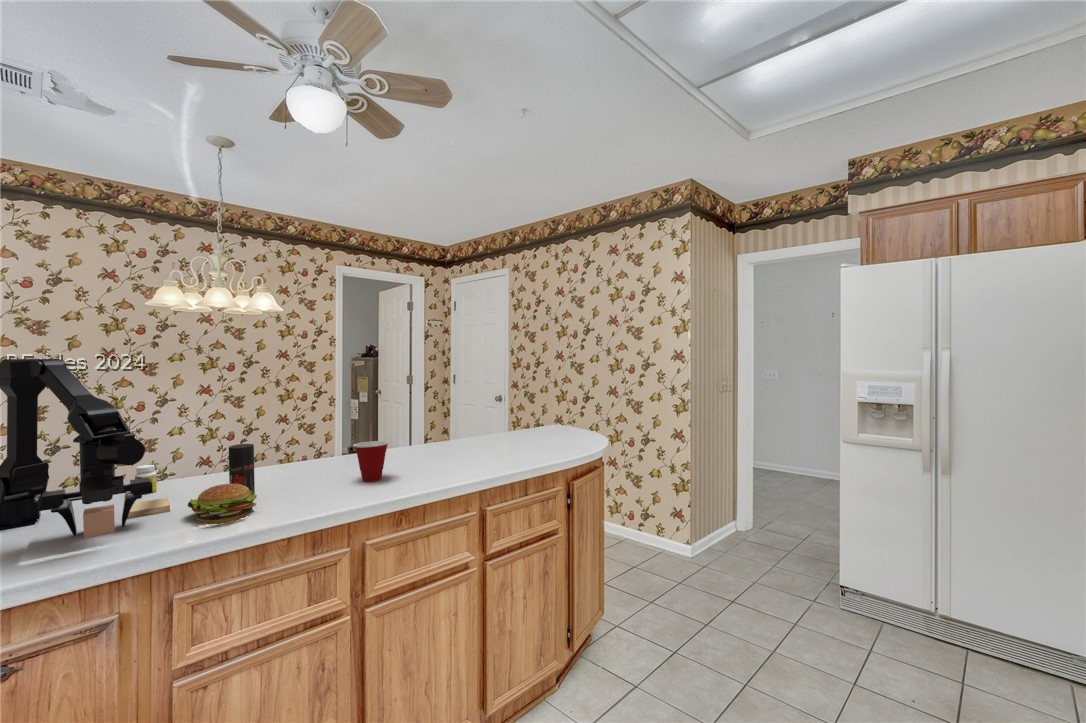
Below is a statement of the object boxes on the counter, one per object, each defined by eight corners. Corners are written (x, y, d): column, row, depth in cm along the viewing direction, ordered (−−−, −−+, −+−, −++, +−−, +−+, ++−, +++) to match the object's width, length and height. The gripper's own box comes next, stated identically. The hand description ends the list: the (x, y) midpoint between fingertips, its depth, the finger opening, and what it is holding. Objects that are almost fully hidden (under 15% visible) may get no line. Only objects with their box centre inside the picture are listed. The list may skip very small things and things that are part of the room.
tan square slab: (128, 518, 116) (128, 512, 116) (128, 509, 122) (127, 504, 122) (169, 511, 121) (169, 505, 121) (167, 503, 127) (167, 497, 127)
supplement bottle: (131, 498, 133) (130, 468, 133) (140, 493, 138) (139, 464, 138) (151, 497, 135) (151, 467, 134) (160, 492, 139) (159, 463, 139)
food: (243, 503, 130) (243, 474, 130) (264, 515, 121) (263, 484, 121) (182, 517, 119) (181, 486, 119) (200, 531, 110) (199, 497, 110)
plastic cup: (383, 472, 161) (383, 437, 160) (393, 480, 152) (393, 443, 152) (349, 477, 155) (349, 441, 154) (358, 486, 146) (357, 447, 145)
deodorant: (259, 496, 135) (258, 444, 135) (241, 503, 130) (240, 448, 129) (243, 495, 137) (242, 443, 136) (224, 501, 131) (223, 447, 131)
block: (83, 541, 104) (83, 514, 104) (85, 535, 108) (84, 508, 108) (114, 535, 108) (113, 509, 108) (114, 529, 112) (114, 504, 111)
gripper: (32, 477, 95) (35, 554, 96) (152, 462, 108) (154, 530, 108) (39, 466, 104) (41, 537, 104) (150, 453, 116) (152, 517, 116)
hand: (99, 530), depth 108 cm, fingers open, 8 cm apart
